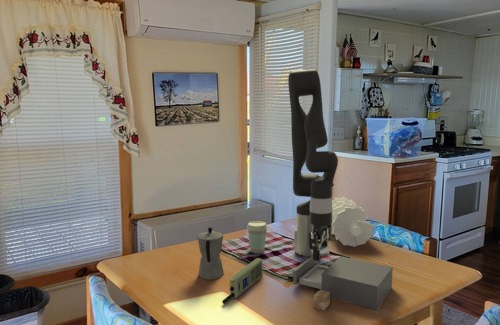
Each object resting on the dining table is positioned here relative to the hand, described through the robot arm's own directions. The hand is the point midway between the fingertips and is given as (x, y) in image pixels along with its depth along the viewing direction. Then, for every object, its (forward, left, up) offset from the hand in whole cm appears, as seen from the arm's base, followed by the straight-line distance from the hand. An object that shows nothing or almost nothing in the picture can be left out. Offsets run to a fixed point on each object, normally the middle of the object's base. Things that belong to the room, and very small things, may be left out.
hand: (320, 257), depth 140 cm
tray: (+2, 0, -8) cm, 8 cm away
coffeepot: (-36, -16, -10) cm, 40 cm away
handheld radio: (-20, -18, -10) cm, 29 cm away
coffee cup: (-35, +14, -10) cm, 39 cm away
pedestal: (+7, -15, -9) cm, 19 cm away
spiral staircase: (-8, +47, -10) cm, 49 cm away
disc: (0, 0, +1) cm, 1 cm away
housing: (+13, 0, -9) cm, 16 cm away
